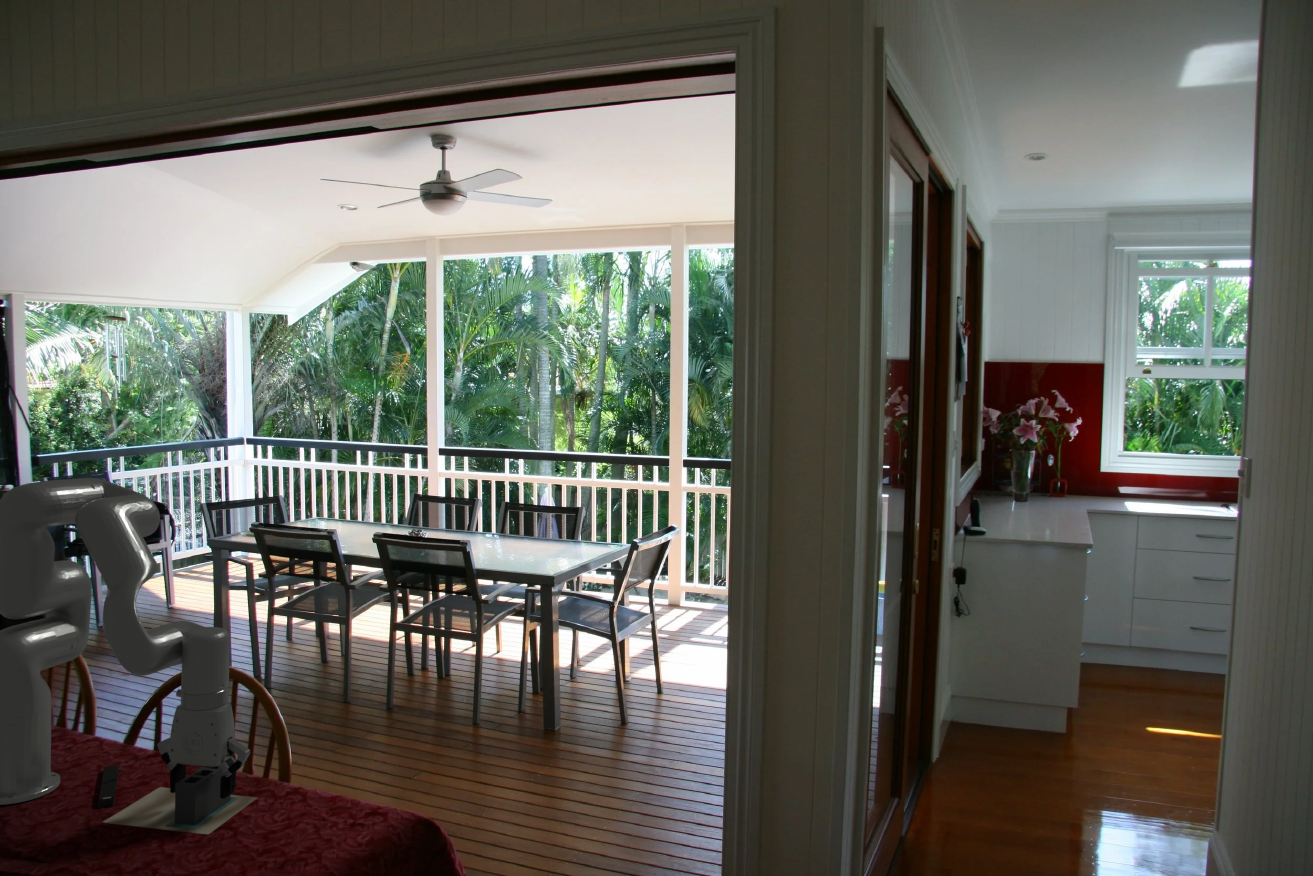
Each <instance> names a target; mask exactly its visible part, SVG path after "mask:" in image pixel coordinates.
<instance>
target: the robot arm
mask: <svg viewBox="0 0 1313 876" xmlns="http://www.w3.org/2000/svg"><path fill="white" fill-rule="evenodd" d="M160 522H161V514H160V510H159V508H158V507H157V505H156V503H155V502H154V501H153V500H152V499H151V498H149V497H148V496H146V495H144V493H143V494H142V493H141V492H138V491H135V490H133V489H130V488H128V487H124V486H121V485H119V484H116V483H113V482H111V481H108V480H106V479H101V478H97V477H82V478H81V477H80V478H69V479H52V480H42V481H36V482H35V481H33V482H29V483H24V484H21V485H18V486H14V487H12V488H11V489H10V490H9V489H8V491H6V492H5V493H4V494H3V496H1V498H0V615H1V616H2V617H4V618H6V619H10V620H23V619H24V620H25V619H28V618H33V617H37V616H43V615H45V617H43V618H40V619H36V620H30V621H27V622H23V623H20V624H15V625H11V626H9V627H8V626H7V627H5V628H3V629H1V630H0V806H3V805H13V804H19V803H25V802H27V801H28V802H29V801H31V800H35V799H39V798H41V797H43V796H45V795H47V794H49V793H51V792H53V791H54V790H56V789H57V788H58V787H59V786H60V784H61V776H60V774H59V773H57V772H55V771H52V770H51V768H52V767H51V761H52V759H51V758H52V757H51V756H52V755H51V754H52V753H51V752H52V750H51V749H52V747H51V746H52V693H51V689H50V687H49V684H47V683H46V681H45V679H43V677H42V675H41V671H44V670H46V669H49V668H52V667H56V666H58V665H61V664H65V663H68V662H70V661H73V660H75V659H77V658H78V657H79V656H81V655H82V654H83V652H84V651H85V649H86V647H87V645H88V642H89V634H90V623H91V622H90V621H91V608H92V597H93V596H92V581H91V578H90V575H89V573H88V571H87V570H86V568H84V566H83V565H81V564H80V563H78V562H76V561H73V560H67V559H66V560H57V561H55V553H56V546H55V541H54V539H53V537H52V535H51V533H50V531H49V530H48V528H49V527H57V526H65V525H73V524H75V528H76V529H77V532H78V534H79V536H80V537H81V539H82V541H83V543H84V545H85V547H86V548H87V551H88V553H89V555H90V556H91V559H92V561H93V562H94V564H95V566H96V568H97V570H98V572H99V574H100V575H101V577H102V579H103V581H104V583H105V585H106V588H107V591H106V595H105V599H104V602H103V607H102V609H103V610H102V628H103V633H104V636H105V638H106V640H107V642H108V645H109V647H110V648H111V650H112V652H113V654H114V656H115V658H116V659H117V661H118V662H119V664H120V665H121V666H122V667H123V669H124V670H126V671H127V672H128V673H130V674H131V675H133V676H139V677H141V676H142V677H143V676H144V677H145V676H149V675H152V674H155V673H158V672H160V671H163V670H166V669H169V668H170V667H171V668H172V667H174V666H178V665H181V680H180V681H181V683H180V684H181V685H180V686H181V688H178V689H177V691H176V693H175V696H176V697H177V698H180V704H178V705H177V706H176V708H175V712H174V714H173V719H172V724H171V729H170V737H168V738H164V739H163V740H161V741H159V742H158V743H157V745H156V746H157V749H158V751H159V753H160V754H161V760H162V761H163V762H164V763H165V764H166V770H167V771H169V788H170V792H171V793H175V784H176V783H177V782H179V781H180V780H182V779H184V778H185V777H187V776H186V774H187V772H186V771H187V766H193V767H194V766H195V767H217V766H218V767H219V768H220V770H221V771H222V773H223V774H224V775H223V776H222V777H221V781H220V798H221V799H225V798H226V797H228V796H229V795H233V793H235V791H236V787H237V786H236V785H237V784H236V783H237V782H236V781H237V778H236V777H237V772H238V771H240V769H241V768H242V767H243V766H244V765H245V764H246V761H247V759H248V758H249V756H250V754H251V750H250V748H248V747H246V746H245V745H243V744H242V743H240V742H238V741H237V740H236V731H235V730H236V729H235V717H234V713H233V708H232V704H231V703H229V694H230V693H229V686H230V685H229V683H230V649H231V639H230V638H231V637H230V633H229V631H228V630H227V629H226V628H224V627H218V626H204V625H202V624H201V625H200V624H198V623H195V622H192V621H189V620H177V621H173V622H170V623H167V624H164V625H159V626H156V627H153V628H150V629H146V628H145V627H144V625H143V623H142V621H141V619H140V616H139V614H138V609H137V597H138V594H139V592H140V589H141V588H142V586H143V585H144V584H145V583H146V582H148V581H149V580H151V579H152V578H153V576H154V575H156V573H157V572H158V569H159V567H158V566H159V565H158V562H157V561H156V559H155V557H154V556H153V553H152V552H151V550H150V548H149V546H148V544H147V542H146V541H145V537H148V536H151V535H153V534H154V533H155V532H156V531H157V530H158V528H159V525H160ZM235 754H236V756H237V757H236V759H235V758H234V755H235ZM225 762H227V764H228V765H229V766H230V767H228V765H227V764H226V763H225Z"/></svg>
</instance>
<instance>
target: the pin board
mask: <svg viewBox="0 0 1313 876" xmlns="http://www.w3.org/2000/svg"><path fill="white" fill-rule="evenodd" d="M257 799H258V797H255V796H248V795H247V796H245V795H238V794H237V795H236V794H231V800H230V801H228V802H227V803H226V804H224V805H223V806H221V807H220V808H219V809H217V810H216V811H214V812H213V813H212V814H210V815H209V816H207V817H206V818H205V819H203V820H202V821H200V822H199V823H198V824H196V825H186V824H177V823H175V793H171V792H170V787H163V786H161V787H158V788H156V789H154V790H153V791H151V792H150V793H148V794H147V795H145V796H143V797H141V798H140V799H138V800H137V801H135V802H134V803H133V802H132V803H131V804H130V805H128V806H126V807H125V808H123V809H121V810H119V812H117V813H115V814H114V815H112V816H111V817H110V816H109V818H107V819H105V820H103V821H102V824H103V823H104V824H111V825H112V824H113V825H122V826H128V827H138V828H139V827H140V828H146V829H157V830H164V831H165V830H166V831H173V832H182V833H189V834H199V835H210V834H211V833H213V832H214V831H215V830H216V829H218V828H219V827H220V826H222V825H223V824H224V823H226V822H227V821H228V820H230V819H231V818H233V817H234V816H235V815H237V814H238V813H240V812H241V811H242V810H243V809H245V808H246V807H248V805H250V804H251V803H253V802H254V801H256V800H257Z"/></svg>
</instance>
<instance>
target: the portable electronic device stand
mask: <svg viewBox="0 0 1313 876" xmlns="http://www.w3.org/2000/svg"><path fill="white" fill-rule="evenodd" d="M119 773H120V764H115V765H108V766H104V767H103V773H102V779H101V784H100V785H101V786H100V789H99V795H98V796H99V797H98V801H97V808H98V809H104V808H112V807H114V805H115V799H116V793H117V786H118V780H119Z"/></svg>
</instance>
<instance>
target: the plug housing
mask: <svg viewBox="0 0 1313 876" xmlns="http://www.w3.org/2000/svg"><path fill="white" fill-rule="evenodd" d="M225 763H226V764H227V762H226V761H225ZM227 765H228V764H227ZM228 767H230V766H229V765H228ZM223 775H224V774H223V773H222V771H221V770H220V768H219V767H218V766H217V767H202V766H200V768H198V769H196V770H195V771H193V772H192V773H190V774H188V775H187V776H186V777H185V778H184V779H182V780H180V781H179V782H177V783H176V784H175V823H177V824H186V825H196V824H198V823H199V822H200V821H202V820H203V819H205V818H206V817H207V816H209V815H210V814H212V813H213V812H214V811H216V810H217V809H219V808H220V807H221V806H223V805H224V804H226V803H227V802H228V801H230V800H231V795H232V794H231V795H229V796H228V797H226V798H225V799H221V798H220V781H221V777H222V776H223Z"/></svg>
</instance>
